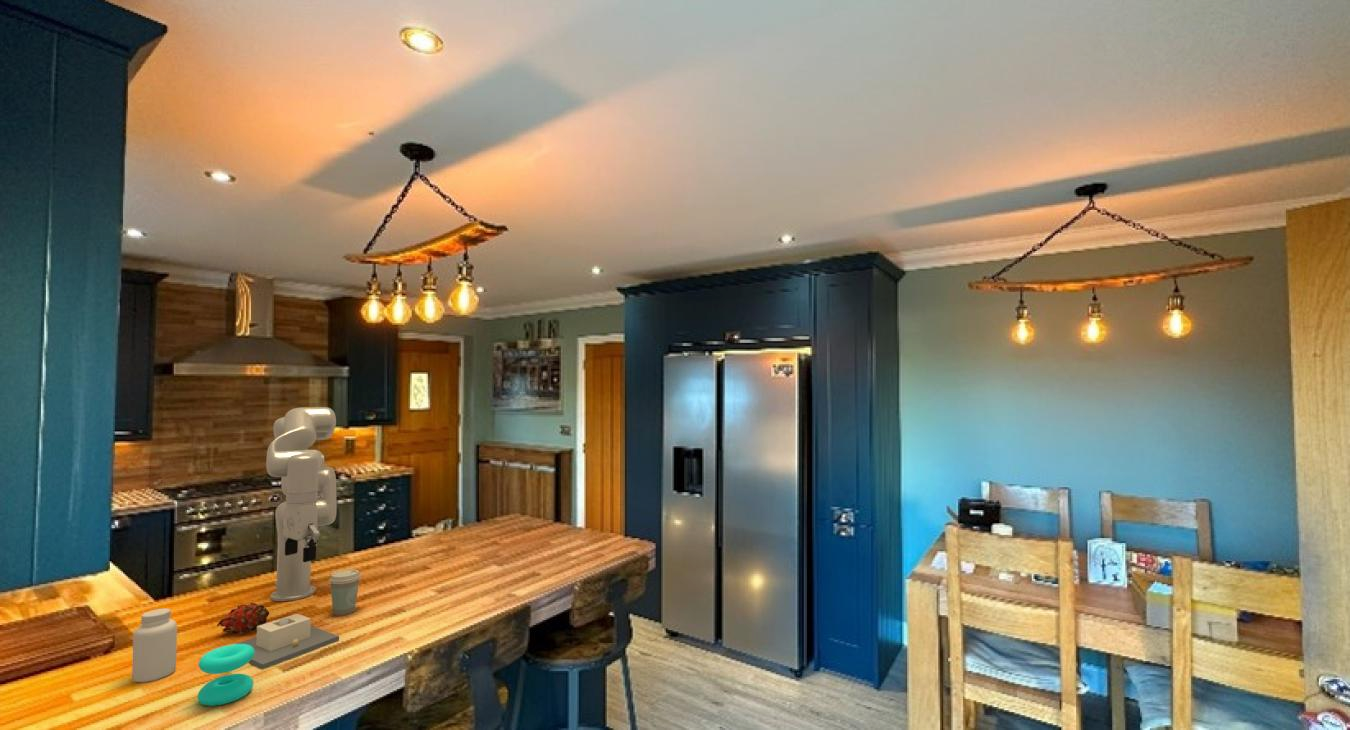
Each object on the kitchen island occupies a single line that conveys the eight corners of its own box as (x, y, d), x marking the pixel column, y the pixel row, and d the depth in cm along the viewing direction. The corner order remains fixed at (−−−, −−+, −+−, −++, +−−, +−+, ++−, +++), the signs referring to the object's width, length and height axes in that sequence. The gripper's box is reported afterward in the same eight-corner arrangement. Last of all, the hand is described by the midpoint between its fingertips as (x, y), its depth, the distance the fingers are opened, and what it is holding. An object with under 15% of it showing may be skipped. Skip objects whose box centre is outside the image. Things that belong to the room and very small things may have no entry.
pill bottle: (149, 667, 144) (152, 606, 144) (184, 666, 144) (186, 605, 145) (122, 684, 136) (124, 619, 136) (158, 682, 136) (161, 618, 137)
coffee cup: (345, 618, 174) (346, 578, 175) (321, 616, 176) (322, 576, 177) (366, 608, 183) (367, 569, 183) (342, 605, 185) (343, 567, 185)
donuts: (259, 638, 138) (247, 656, 128) (258, 681, 137) (246, 702, 128) (207, 646, 134) (191, 665, 125) (206, 690, 133) (190, 712, 124)
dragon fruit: (272, 633, 167) (220, 649, 161) (271, 608, 173) (221, 623, 167) (268, 616, 163) (214, 631, 157) (267, 591, 169) (215, 605, 162)
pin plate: (225, 651, 152) (225, 624, 153) (300, 626, 169) (301, 601, 169) (262, 669, 143) (263, 640, 143) (339, 640, 160) (339, 614, 160)
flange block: (270, 651, 150) (270, 631, 150) (256, 645, 154) (256, 626, 154) (310, 637, 159) (310, 618, 159) (296, 631, 162) (296, 613, 162)
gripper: (272, 495, 166) (270, 555, 166) (304, 504, 158) (302, 567, 157) (299, 491, 173) (298, 548, 173) (332, 499, 164) (330, 559, 164)
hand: (300, 557), depth 165 cm, fingers open, 9 cm apart
